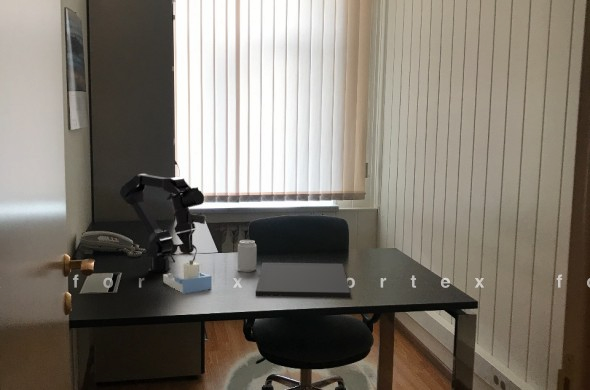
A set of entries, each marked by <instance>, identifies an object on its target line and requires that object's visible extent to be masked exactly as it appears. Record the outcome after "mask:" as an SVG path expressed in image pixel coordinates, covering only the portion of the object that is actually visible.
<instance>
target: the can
mask: <svg viewBox="0 0 590 390" xmlns="http://www.w3.org/2000/svg"><path fill="white" fill-rule="evenodd" d="M256 269H257V244H256V243H255V240H252V239H242V240H240V241H239V243H238V244H237V270H239V272H242V273H252V272H254V271H255V270H256Z"/></svg>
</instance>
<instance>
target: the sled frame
mask: <svg viewBox="0 0 590 390" xmlns="http://www.w3.org/2000/svg"><path fill="white" fill-rule="evenodd" d="M162 277H163V283H164V284H166V285H168V286H169V287H171V288H172V287H173V288H172V289H174V288H175V289H174V290H175V291H177V290H178V291H177V292H179V291H180V292H179V293H181V292H182V293H181V294H182V295H185V294H184V293H187V294H191V293H190V292H193V293H197V291H198V292H203V291H202V290H204V291H209V290H208V289H210V290H212V288H213V287H212V286H213V285H212V283H213V282H212V280H213V279H212V275H210V274H209V275H208V274H206V273H204V272H199V277H195V278H189V279H184V278H183V279H182V278H181V277H179V276H173V274H172V273H170V272H169V273H167V274H166V273H165V274H163V275H162Z"/></svg>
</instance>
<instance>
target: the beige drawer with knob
mask: <svg viewBox="0 0 590 390" xmlns="http://www.w3.org/2000/svg"><path fill="white" fill-rule="evenodd" d="M199 275H200V264H199V263H198V262H196V261H193V259H191V260H189V263H183V279H189V278H195V277H199Z"/></svg>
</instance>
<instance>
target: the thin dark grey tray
mask: <svg viewBox="0 0 590 390" xmlns="http://www.w3.org/2000/svg"><path fill="white" fill-rule="evenodd" d="M345 271H346V270H345V268H344V265H343V263H319V262H318V263H316V262H315V263H311V262H310V263H309V262H308V263H305V262H262V264H261V268H260V272H259V276H258V280H257V284H256V289H255V297H280V298H281V297H287V298H288V297H291V298H292V297H293V298H294V297H295V298H298V297H299V298H343V299H344V298H346V299H347V298H351V291H350V286H349V283H348V279H347V277H346V272H345Z"/></svg>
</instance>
